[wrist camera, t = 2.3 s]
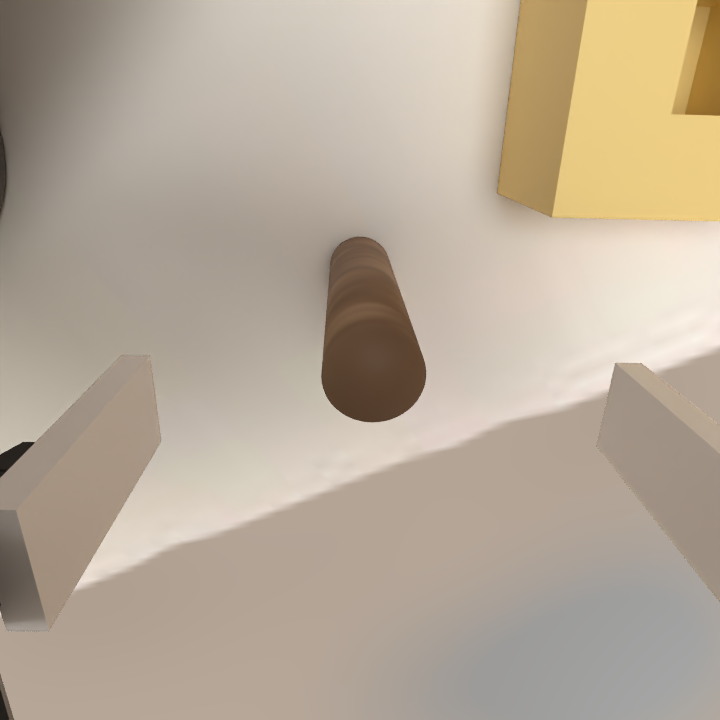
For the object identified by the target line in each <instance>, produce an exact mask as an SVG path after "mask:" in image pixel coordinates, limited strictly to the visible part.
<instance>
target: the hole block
mask: <svg viewBox="0 0 720 720" xmlns="http://www.w3.org/2000/svg"><path fill="white" fill-rule="evenodd" d="M497 193H498V194H500V195H503V196H505V197H507V198H509V199H512V200H514V201H516V202H518V203H521V204H523V205H525V206H527V207H530V208H532V209H534V210H536V211H539V212H541V213H543V214H545V215H548V216H550V217H555V218H598V219H641V220H683V221H720V0H521V3H520V11H519V19H518V27H517V35H516V43H515V51H514V60H513V68H512V76H511V84H510V92H509V100H508V108H507V117H506V125H505V133H504V141H503V149H502V157H501V165H500V174H499V182H498V190H497Z"/></svg>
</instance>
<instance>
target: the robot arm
mask: <svg viewBox="0 0 720 720" xmlns="http://www.w3.org/2000/svg"><path fill="white" fill-rule="evenodd" d="M5 175H6V173H5V157H4V149H3V143H2V138H1V134H0V211H1V208H2V203H3V198H4V191H5ZM160 443H161V436H160V428H159V421H158V413H157V406H156V398H155V391H154V383H153V376H152V369H151V361H150V356H141V355H121V356H120V357H119V359H118V360H117V361H116V362H115V363H114V364H113V365H112V366H111V367H110V368H109V369H108V370H107V371H106V372H105V373H104V374H103V375H102V376H101V377H100V378H99V379H98V380H97V381H96V382H95V383H94V384H93V385H92V386H91V387H90V388H89V389H88V390H87V391H86V392H85V393H84V394H83V395H82V396H81V397H80V398H79V399H78V400H77V401H76V402H75V403H74V404H73V405H72V406H71V407H70V408H69V409H68V410H67V411H66V412H65V413H64V414H63V415H62V416H61V417H60V418H59V419H58V420H57V421H56V422H55V423H54V424H53V425H52V426H51V427H50V428H49V429H48V430H47V431H46V432H45V433H44V434H43V435H42V436H41V437H40V438H39V439H38V440H37V441H36V442H22V443H21V444H19V445H17V446H15V447H13V448H11V449H10V450H8V451H6V452H4V453H2V454H1V455H0V611H1V615H2V618H3V621H4V624H5V627H6V630H7V631H49V630H50V628H51V627H52V625H53V624H54V622H55V620H56V618H57V617H58V615H59V613H60V612H61V610H62V608H63V606H64V605H65V603H66V601H67V600H68V598H69V597H70V595H71V593H72V591H73V590H74V588H75V586H76V585H77V583H78V581H79V580H80V578H81V576H82V575H83V573H84V571H85V569H86V568H87V566H88V564H89V563H90V561H91V559H92V558H93V556H94V554H95V553H96V551H97V549H98V547H99V546H100V544H101V542H102V541H103V539H104V537H105V536H106V534H107V532H108V531H109V529H110V527H111V525H112V524H113V522H114V520H115V519H116V517H117V515H118V514H119V512H120V510H121V509H122V507H123V505H124V503H125V502H126V500H127V498H128V497H129V495H130V493H131V492H132V490H133V488H134V487H135V485H136V483H137V481H138V480H139V478H140V476H141V475H142V473H143V471H144V470H145V468H146V466H147V465H148V463H149V461H150V459H151V458H152V456H153V454H154V453H155V451H156V449H157V448H158V446H159V444H160ZM596 446H597V447H598V449H599V450H600V451H601V453H602V454H603V455H604V456H605V458H606V459H607V460H608V461H609V463H610V464H611V465H612V466H613V468H614V469H615V470H616V471H617V473H618V474H619V475H620V477H621V478H622V479H623V480H624V481H625V483H626V484H627V485H628V487H629V488H630V489H631V490H632V492H633V493H634V494H635V496H636V497H637V498H638V499H639V501H640V502H641V503H642V504H643V506H644V507H645V508H646V509H647V511H648V512H649V513H650V514H651V516H652V517H653V518H654V520H655V521H656V522H657V523H658V525H659V526H660V527H661V528H662V530H663V531H664V532H665V533H666V535H667V536H668V537H669V538H670V540H671V541H672V542H673V544H674V545H675V546H676V547H677V549H678V550H679V551H680V552H681V554H682V555H683V556H684V558H685V559H686V560H687V561H688V563H689V564H690V565H691V566H692V568H693V569H694V570H695V571H696V573H697V574H698V575H699V576H700V578H701V579H702V580H703V582H704V583H705V584H706V585H707V587H708V588H709V589H710V590H711V592H712V593H713V594H714V595H715V597H716V598H717V599H718V601H719V602H720V425H719V424H718V423H716V422H715V421H714V420H713V419H711V418H710V417H709V416H707V415H706V414H705V413H703V412H702V411H701V410H700V409H699V408H697V407H696V406H695V405H694V404H692V403H691V402H690V401H689V400H687V399H686V398H685V397H683V396H682V395H681V394H680V393H678V392H677V391H676V390H675V389H673V388H672V387H671V386H670V385H668V384H667V383H666V382H665V381H663V380H662V379H661V378H660V377H658V376H657V375H656V374H654V373H653V372H652V371H651V370H649V369H648V368H647V367H646V366H644V365H643V364H642V363H615V366H614V371H613V375H612V379H611V384H610V388H609V393H608V397H607V401H606V406H605V410H604V415H603V419H602V423H601V428H600V432H599V436H598V440H597V445H596ZM0 720H14V718H13V715H12V711H11V708H10V705H9V701H8V698H7V695H6V692H5V688H4V685H3V682H2V678H1V675H0Z"/></svg>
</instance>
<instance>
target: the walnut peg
mask: <svg viewBox="0 0 720 720" xmlns="http://www.w3.org/2000/svg"><path fill="white" fill-rule="evenodd" d="M321 377H322V385H323V389H324V391H325V394H326V396H327V398H328V399H329V401H330V402H331V404H332V405H333V406H334V407H335V408H336V409H337V410H339V411H340V412H341V413H343V414H344V415H346V416H348V417H350V418H352V419H356V420H359V421H364V422H381V421H386V420H390V419H393V418H395V417H398V416H399V415H401V414H403V413H404V412H406V411H407V410H408V409H410V408H411V407H412V406H413V405H414V404H415V402H416V401H417V400H418V398H419V397H420V395H421V393H422V391H423V388H424V385H425V380H426V367H425V362H424V359H423V356H422V353H421V350H420V347H419V344H418V342H417V339H416V336H415V333H414V330H413V327H412V324H411V322H410V319H409V316H408V313H407V310H406V307H405V304H404V301H403V299H402V296H401V293H400V290H399V287H398V284H397V281H396V279H395V276H394V273H393V270H392V267H391V264H390V261H389V259H388V256H387V253H386V252H385V250H384V248H383V247H382V246H381V245H380V244H379V243H377V242H376V241H374V240H372V239H370V238H366V237H354V238H350V239H348V240H346V241H344V242H343V243H341V244H340V245H339V246H338V247H337V248H336V250H335V251H334V253H333V255H332V258H331V263H330V275H329V288H328V300H327V313H326V325H325V337H324V350H323V362H322V375H321Z"/></svg>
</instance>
